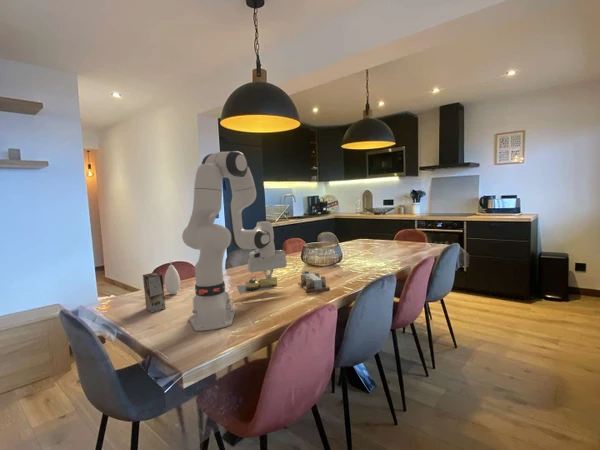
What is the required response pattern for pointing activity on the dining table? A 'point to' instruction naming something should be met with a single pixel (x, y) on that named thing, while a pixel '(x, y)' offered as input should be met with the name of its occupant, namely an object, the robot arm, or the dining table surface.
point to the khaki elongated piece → (260, 282)
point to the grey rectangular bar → (313, 280)
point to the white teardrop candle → (172, 280)
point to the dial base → (243, 289)
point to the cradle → (307, 284)
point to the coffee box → (154, 291)
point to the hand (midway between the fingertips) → (268, 278)
